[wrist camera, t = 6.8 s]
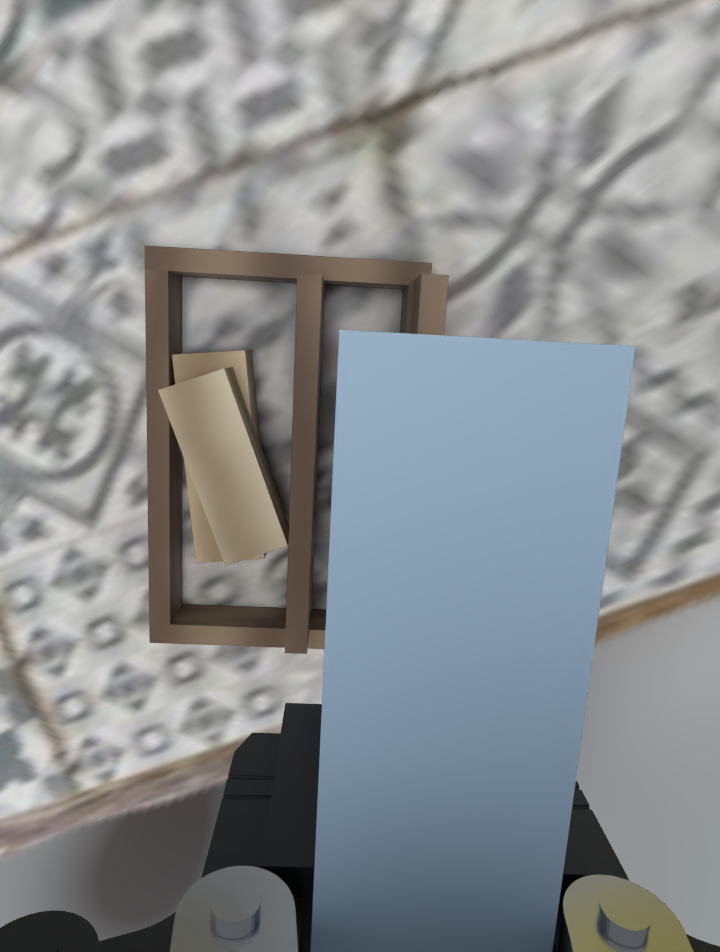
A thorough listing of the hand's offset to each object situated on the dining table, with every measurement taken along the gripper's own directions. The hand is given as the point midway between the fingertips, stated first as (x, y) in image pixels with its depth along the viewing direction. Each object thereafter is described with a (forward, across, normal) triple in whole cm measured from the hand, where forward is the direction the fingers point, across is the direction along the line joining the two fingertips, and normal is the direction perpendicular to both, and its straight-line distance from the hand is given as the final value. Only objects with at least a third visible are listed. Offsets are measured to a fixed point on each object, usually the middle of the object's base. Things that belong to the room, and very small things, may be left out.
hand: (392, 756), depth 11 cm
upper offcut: (+26, +7, 0) cm, 27 cm away
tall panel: (+12, 0, 0) cm, 12 cm away
